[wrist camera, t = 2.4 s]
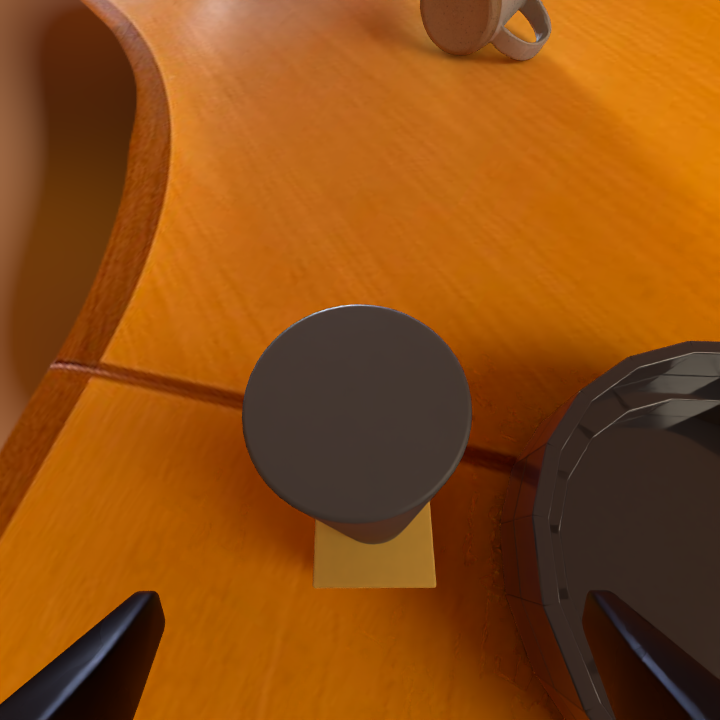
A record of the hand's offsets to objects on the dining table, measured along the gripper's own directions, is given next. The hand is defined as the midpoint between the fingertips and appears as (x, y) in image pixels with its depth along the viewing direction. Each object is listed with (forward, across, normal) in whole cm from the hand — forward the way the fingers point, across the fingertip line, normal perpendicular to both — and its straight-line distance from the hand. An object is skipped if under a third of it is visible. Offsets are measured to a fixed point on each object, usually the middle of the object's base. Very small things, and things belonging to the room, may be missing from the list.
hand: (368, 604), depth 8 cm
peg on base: (+9, 0, +5) cm, 11 cm away
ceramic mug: (+38, -11, -22) cm, 45 cm away
